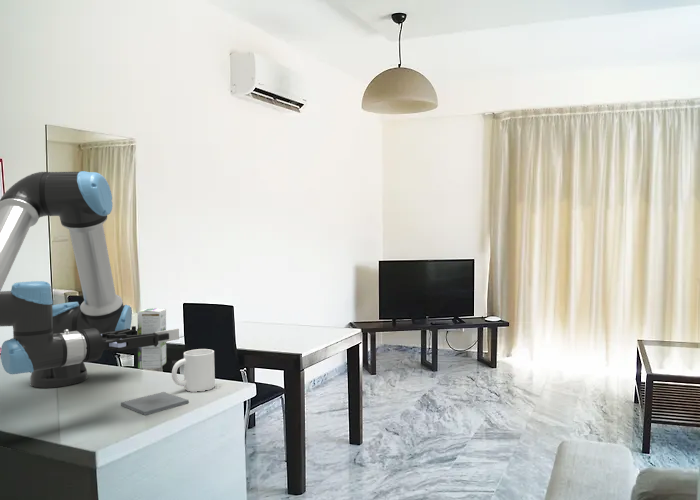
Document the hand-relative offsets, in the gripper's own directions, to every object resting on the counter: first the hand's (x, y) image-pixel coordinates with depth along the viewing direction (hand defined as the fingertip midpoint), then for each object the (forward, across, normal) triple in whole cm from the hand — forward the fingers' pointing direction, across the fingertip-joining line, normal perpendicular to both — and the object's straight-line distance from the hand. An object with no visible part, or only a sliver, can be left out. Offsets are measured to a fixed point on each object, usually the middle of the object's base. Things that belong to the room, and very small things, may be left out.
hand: (169, 332), depth 146 cm
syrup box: (-5, 0, +8) cm, 10 cm away
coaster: (-5, 0, +18) cm, 18 cm away
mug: (+9, +4, +18) cm, 21 cm away
